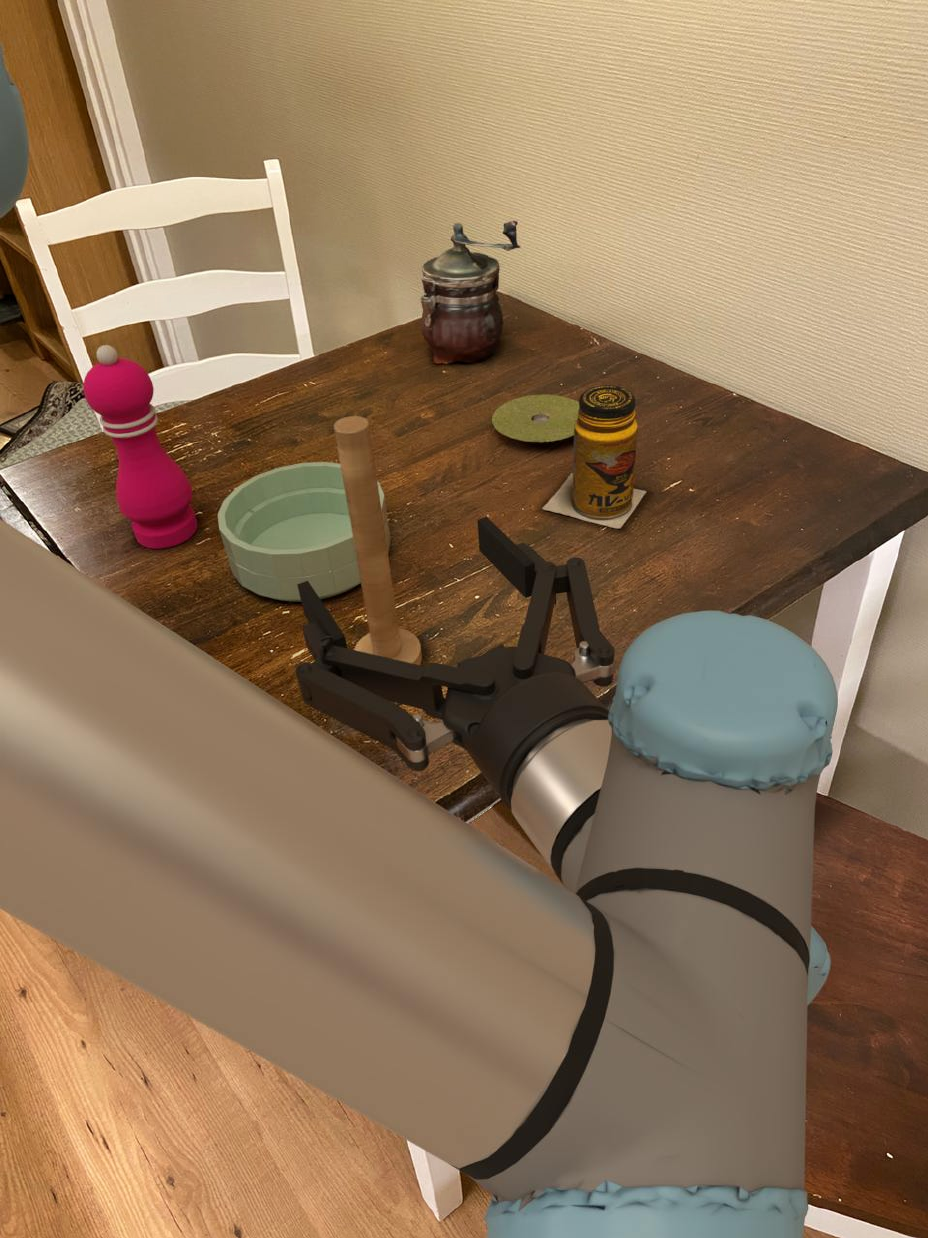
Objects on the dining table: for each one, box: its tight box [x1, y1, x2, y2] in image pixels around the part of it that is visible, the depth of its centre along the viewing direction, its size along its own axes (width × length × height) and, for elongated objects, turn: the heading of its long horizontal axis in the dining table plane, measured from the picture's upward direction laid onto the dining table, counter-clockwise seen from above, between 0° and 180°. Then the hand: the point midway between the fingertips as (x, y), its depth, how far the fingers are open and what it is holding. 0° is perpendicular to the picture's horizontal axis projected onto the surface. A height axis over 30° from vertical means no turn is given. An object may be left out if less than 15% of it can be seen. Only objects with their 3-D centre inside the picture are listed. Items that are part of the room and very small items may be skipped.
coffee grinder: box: [420, 220, 521, 365], centre depth 113 cm, size 13×15×18 cm
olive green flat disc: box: [491, 393, 579, 443], centre depth 101 cm, size 11×11×2 cm
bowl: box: [217, 461, 392, 603], centre depth 84 cm, size 15×15×6 cm
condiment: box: [541, 384, 647, 529], centre depth 86 cm, size 7×8×12 cm
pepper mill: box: [83, 344, 199, 550], centre depth 84 cm, size 7×7×20 cm
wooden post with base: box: [333, 415, 423, 665], centre depth 67 cm, size 6×6×22 cm
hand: (397, 564), depth 61 cm, fingers open, 13 cm apart
